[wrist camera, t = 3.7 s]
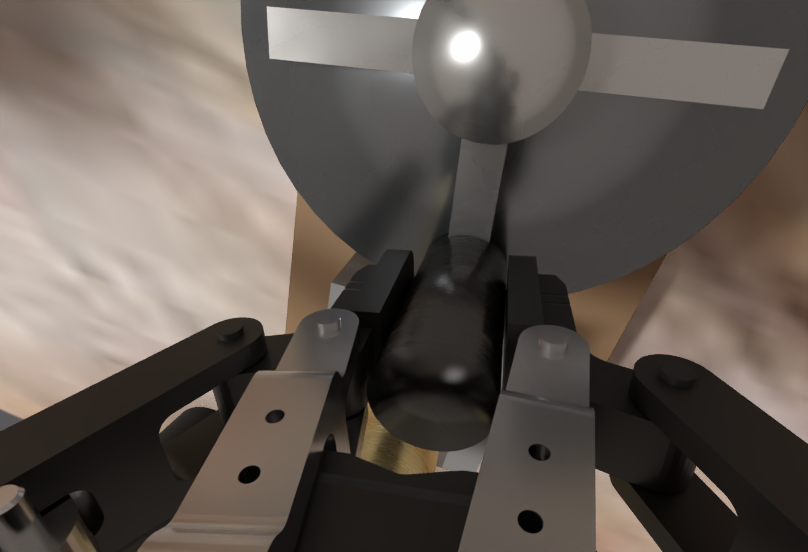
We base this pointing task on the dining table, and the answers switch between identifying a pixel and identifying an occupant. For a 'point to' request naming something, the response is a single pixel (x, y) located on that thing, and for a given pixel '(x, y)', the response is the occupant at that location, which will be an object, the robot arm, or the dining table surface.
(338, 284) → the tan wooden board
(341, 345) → the robot arm
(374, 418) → the gold metallic cylinder
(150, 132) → the dining table surface
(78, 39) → the dining table surface
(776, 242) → the dining table surface
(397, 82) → the handwheel
